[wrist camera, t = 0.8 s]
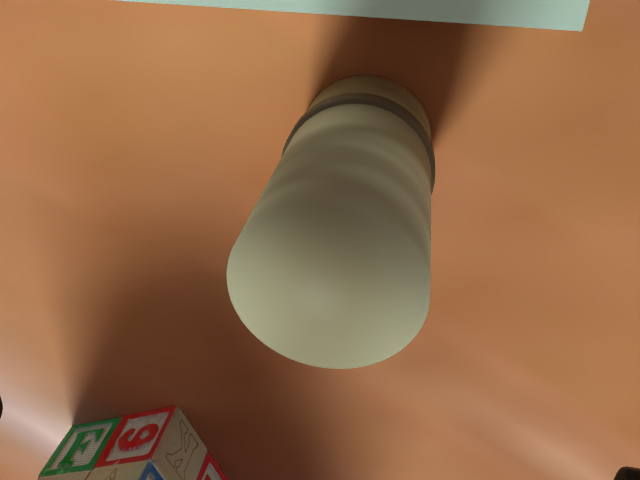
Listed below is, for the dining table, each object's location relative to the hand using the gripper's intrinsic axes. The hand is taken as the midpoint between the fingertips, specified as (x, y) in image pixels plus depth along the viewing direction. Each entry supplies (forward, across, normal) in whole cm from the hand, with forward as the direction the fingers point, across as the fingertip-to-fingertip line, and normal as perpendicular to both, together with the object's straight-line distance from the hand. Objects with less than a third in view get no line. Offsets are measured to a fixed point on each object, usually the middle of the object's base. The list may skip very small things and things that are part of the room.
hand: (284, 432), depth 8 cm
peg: (+12, 0, 0) cm, 12 cm away
